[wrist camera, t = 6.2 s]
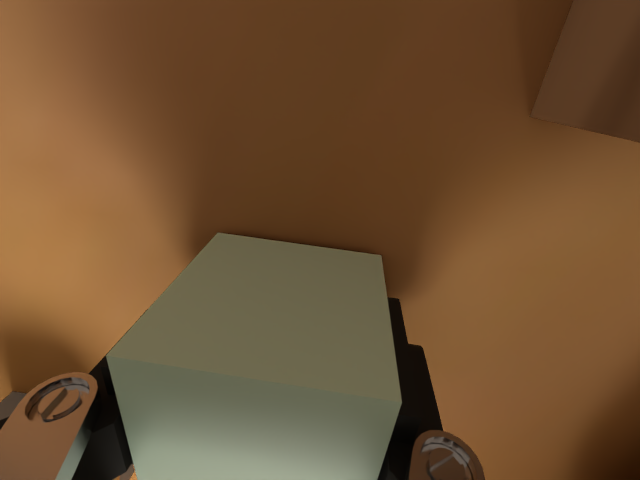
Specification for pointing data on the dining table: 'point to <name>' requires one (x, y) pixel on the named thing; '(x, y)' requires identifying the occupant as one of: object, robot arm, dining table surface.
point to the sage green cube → (262, 367)
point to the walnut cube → (595, 70)
